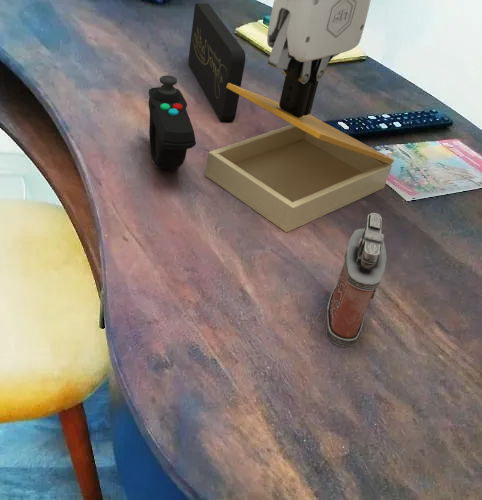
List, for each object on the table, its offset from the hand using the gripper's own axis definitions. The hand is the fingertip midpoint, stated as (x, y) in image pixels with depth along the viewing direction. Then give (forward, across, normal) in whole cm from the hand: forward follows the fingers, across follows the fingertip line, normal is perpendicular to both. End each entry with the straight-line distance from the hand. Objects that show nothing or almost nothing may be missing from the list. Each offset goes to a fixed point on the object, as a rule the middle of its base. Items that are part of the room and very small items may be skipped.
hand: (294, 111), depth 71 cm
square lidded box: (+10, +3, 0) cm, 11 cm away
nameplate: (+10, +11, +25) cm, 29 cm away
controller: (+10, -8, +11) cm, 17 cm away
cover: (+3, +4, 0) cm, 5 cm away
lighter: (+10, -11, -19) cm, 24 cm away
